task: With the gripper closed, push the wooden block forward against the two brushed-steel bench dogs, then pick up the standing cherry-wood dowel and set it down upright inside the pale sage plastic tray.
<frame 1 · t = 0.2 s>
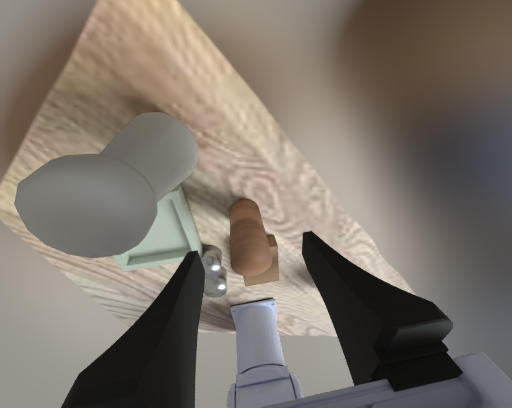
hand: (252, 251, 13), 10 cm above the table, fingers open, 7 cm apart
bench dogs: (213, 263, 26), on the table
dowel: (244, 211, 23), on the table
wooden block: (257, 253, 27), on the table
tray: (153, 225, 22), on the table
salt shaker: (171, 142, 18), on the table
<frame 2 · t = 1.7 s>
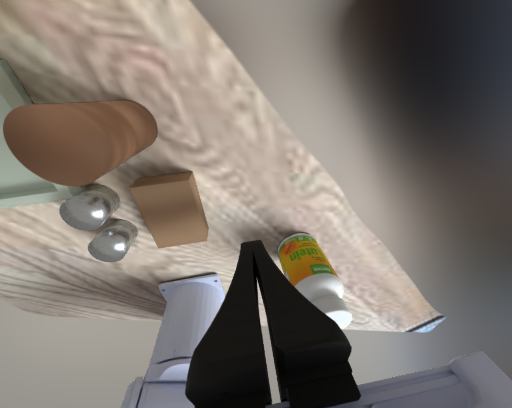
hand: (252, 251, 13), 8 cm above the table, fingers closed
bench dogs: (113, 215, 19), on the table
dowel: (133, 125, 15), on the table
wooden block: (178, 204, 20), on the table
supplement bottle: (296, 246, 25), on the table
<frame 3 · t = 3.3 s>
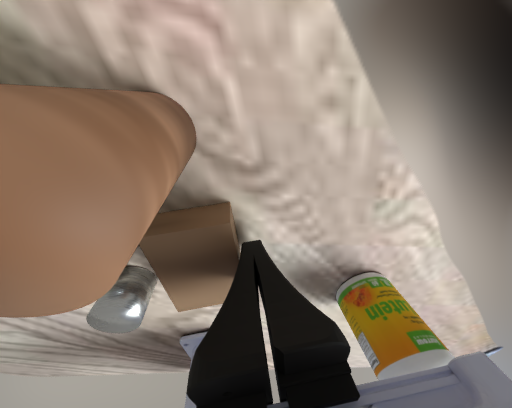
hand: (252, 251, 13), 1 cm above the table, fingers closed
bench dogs: (122, 262, 13), on the table
dowel: (159, 133, 9), on the table
wooden block: (204, 245, 14), on the table
supplement bottle: (358, 286, 19), on the table
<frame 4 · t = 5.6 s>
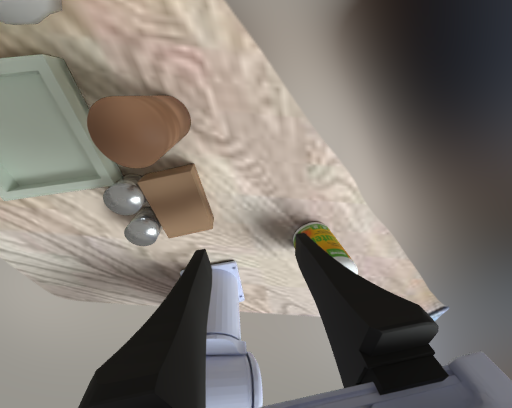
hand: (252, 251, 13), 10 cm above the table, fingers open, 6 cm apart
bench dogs: (144, 203, 20), on the table
dowel: (169, 118, 17), on the table
wooden block: (183, 196, 21), on the table
supplement bottle: (309, 235, 26), on the table
tray: (40, 134, 16), on the table
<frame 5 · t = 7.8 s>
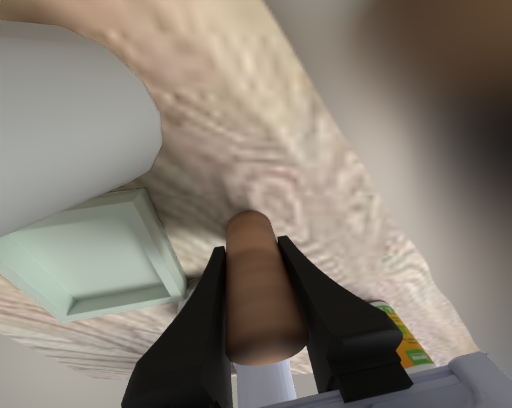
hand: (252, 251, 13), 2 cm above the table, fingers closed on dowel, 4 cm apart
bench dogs: (204, 300, 18), on the table
dowel: (249, 229, 15), on the table, touching gripper
supplement bottle: (367, 310, 25), on the table
tray: (106, 253, 14), on the table
salt shaker: (117, 114, 10), on the table
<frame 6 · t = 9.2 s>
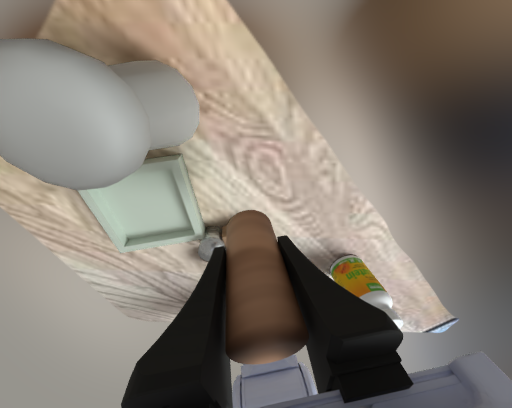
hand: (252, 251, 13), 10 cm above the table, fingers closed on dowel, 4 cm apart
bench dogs: (216, 246, 25), on the table
dowel: (249, 229, 15), point 7 cm above the table, touching gripper
supplement bottle: (344, 264, 31), on the table
tray: (151, 202, 20), on the table
salt shaker: (169, 106, 16), on the table
when the fingers open (5 cm above the table, at t = 11.1 s): dowel drops 2 cm, resting on tray.
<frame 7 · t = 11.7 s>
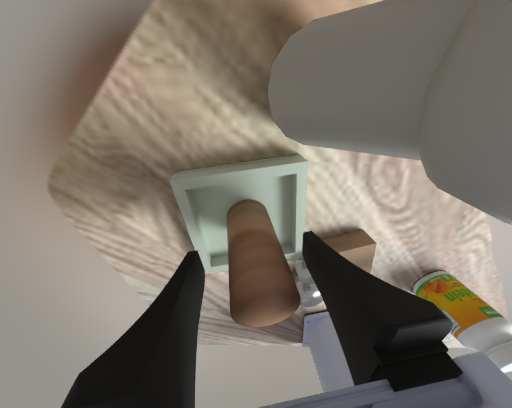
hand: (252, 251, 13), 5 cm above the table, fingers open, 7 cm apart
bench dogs: (302, 263, 21), on the table
dowel: (247, 217, 16), point 1 cm above the table, touching tray
wooden block: (336, 254, 22), on the table
supplement bottle: (428, 281, 27), on the table
tray: (246, 214, 17), on the table
salt shaker: (302, 91, 12), on the table
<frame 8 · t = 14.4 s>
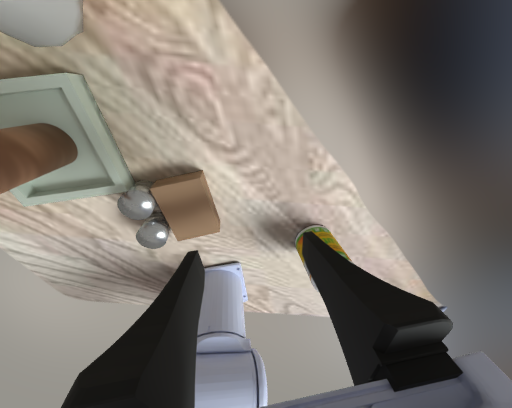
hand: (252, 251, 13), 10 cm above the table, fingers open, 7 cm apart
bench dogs: (153, 208, 21), on the table
dowel: (53, 145, 16), point 1 cm above the table, touching tray
wooden block: (191, 201, 22), on the table
supplement bottle: (311, 237, 27), on the table
tray: (58, 144, 17), on the table
salt shaker: (51, 0, 13), on the table
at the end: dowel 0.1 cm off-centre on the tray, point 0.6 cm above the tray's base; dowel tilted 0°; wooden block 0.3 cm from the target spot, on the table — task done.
